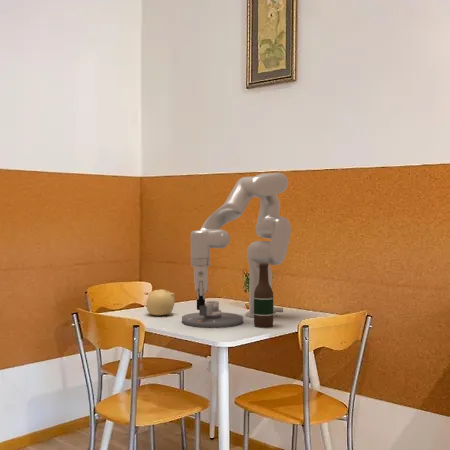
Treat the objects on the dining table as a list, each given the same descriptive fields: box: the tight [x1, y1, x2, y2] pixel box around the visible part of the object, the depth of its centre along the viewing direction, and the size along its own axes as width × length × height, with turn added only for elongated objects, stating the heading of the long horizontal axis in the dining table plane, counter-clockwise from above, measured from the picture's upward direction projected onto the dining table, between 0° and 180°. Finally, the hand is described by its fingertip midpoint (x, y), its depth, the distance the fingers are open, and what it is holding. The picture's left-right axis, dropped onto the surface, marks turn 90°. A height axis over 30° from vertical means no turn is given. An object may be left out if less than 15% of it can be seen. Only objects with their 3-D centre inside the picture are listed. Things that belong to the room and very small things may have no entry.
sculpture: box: [145, 288, 175, 316], centre depth 260 cm, size 12×12×11 cm
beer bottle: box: [253, 263, 274, 328], centre depth 236 cm, size 8×8×24 cm
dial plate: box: [181, 311, 244, 329], centre depth 244 cm, size 24×24×2 cm
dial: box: [198, 300, 222, 318], centre depth 240 cm, size 15×7×6 cm, turn 162°
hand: (200, 309), depth 239 cm, fingers closed
